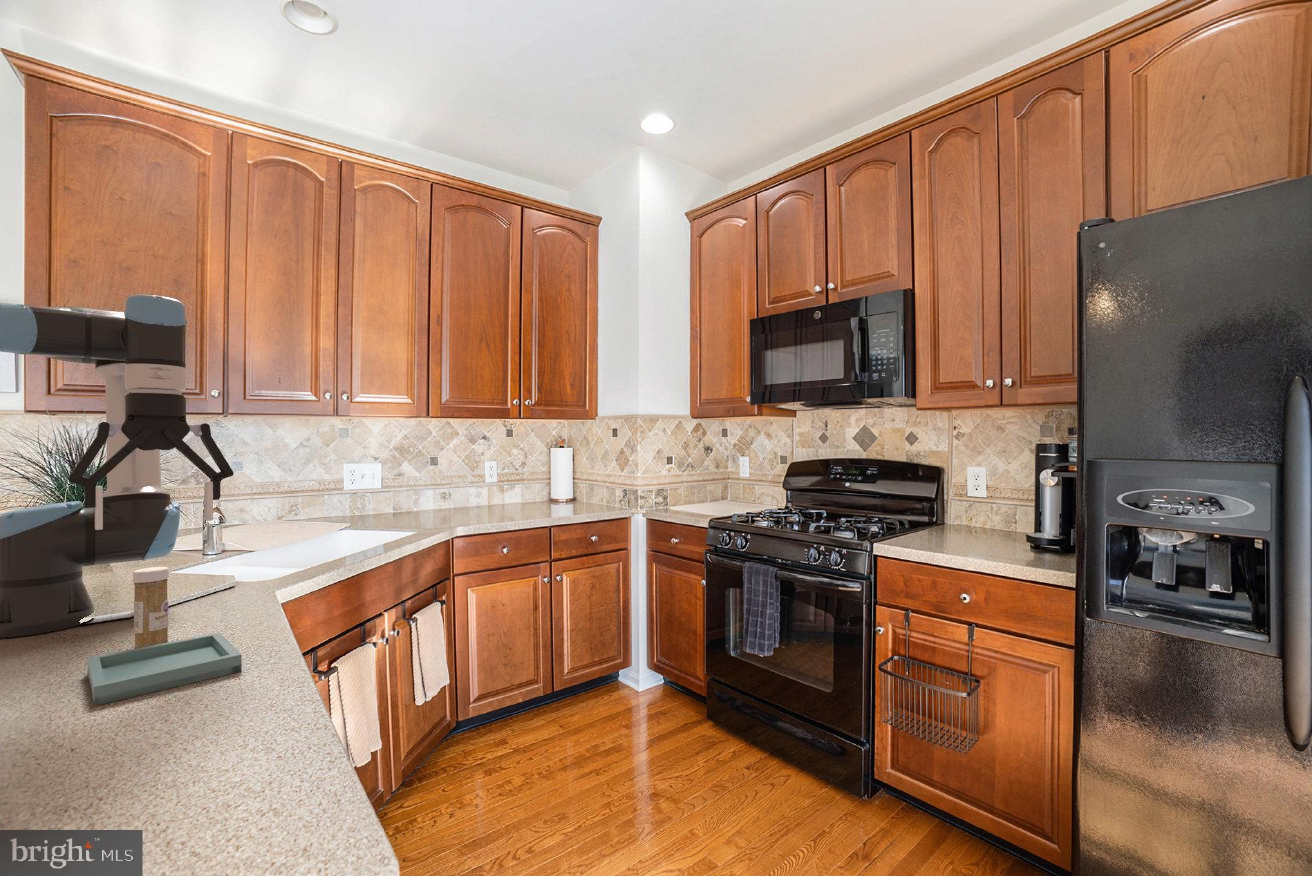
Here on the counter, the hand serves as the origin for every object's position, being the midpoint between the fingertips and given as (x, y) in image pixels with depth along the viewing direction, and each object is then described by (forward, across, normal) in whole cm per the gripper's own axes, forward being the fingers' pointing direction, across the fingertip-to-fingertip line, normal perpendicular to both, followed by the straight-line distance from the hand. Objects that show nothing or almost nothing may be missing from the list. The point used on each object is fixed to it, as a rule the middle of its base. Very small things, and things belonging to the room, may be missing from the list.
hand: (156, 524), depth 95 cm
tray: (+21, 0, -10) cm, 24 cm away
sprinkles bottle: (+22, 0, +6) cm, 22 cm away
